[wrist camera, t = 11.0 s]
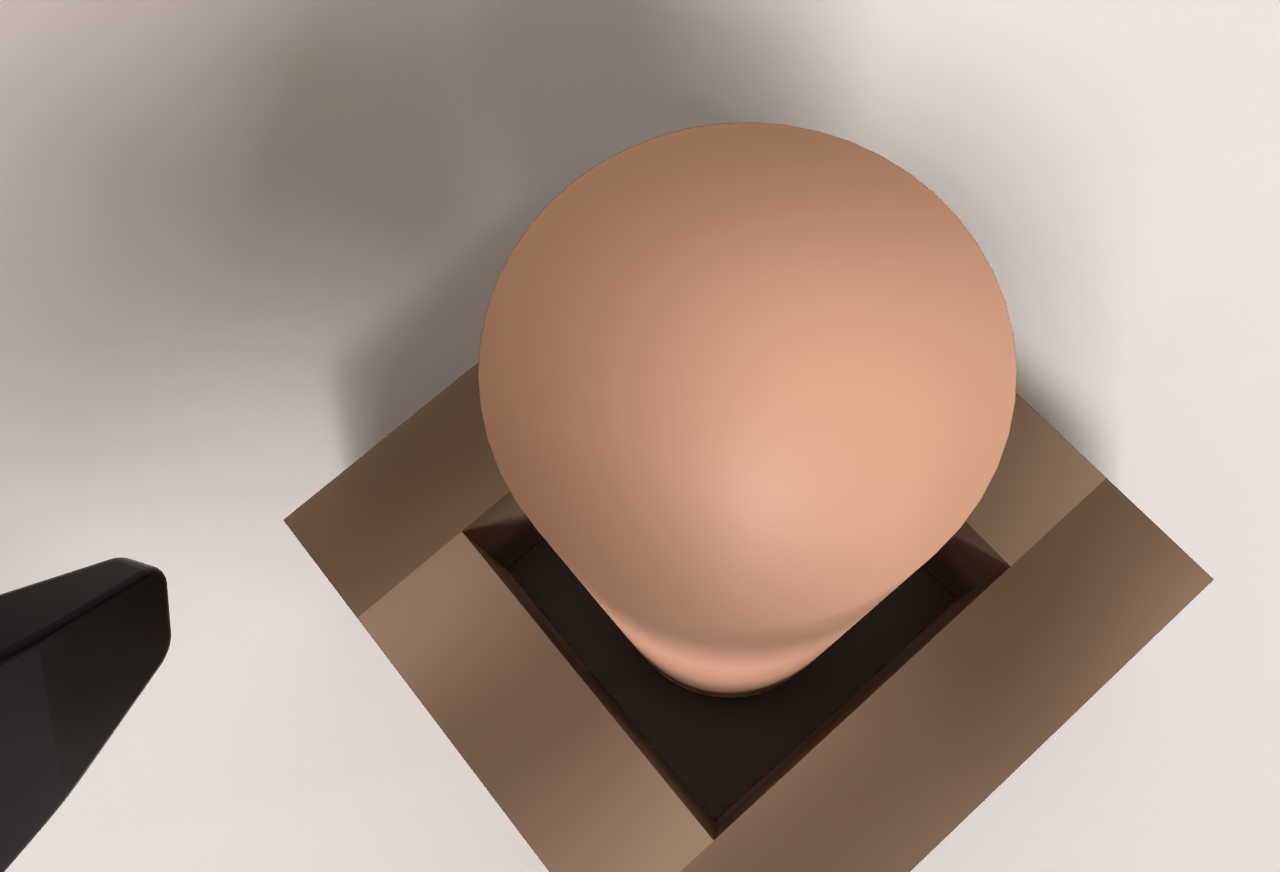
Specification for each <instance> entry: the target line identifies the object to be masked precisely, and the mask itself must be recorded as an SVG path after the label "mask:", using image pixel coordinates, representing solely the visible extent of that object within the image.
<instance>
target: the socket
mask: <svg viewBox="0 0 1280 872" xmlns="http://www.w3.org/2000/svg"><path fill="white" fill-rule="evenodd" d="M478 372H479V363H477V364H476V365H475V366H474V367H472V368H471V369H470V370H469V371H467V372H466V373H465V374H464V375H463V376H461V377H460V378H459V379H458V380H456V381H455V382H454V383H453V384H451V385H450V386H449V387H448V388H446V389H445V390H444V391H443V392H441V393H440V394H439V395H438V396H436V397H435V398H434V399H433V400H432V401H430V402H429V403H428V404H427V405H425V406H424V407H423V408H422V409H420V410H419V411H418V412H417V413H415V414H414V415H413V416H412V417H410V418H409V419H408V420H407V421H405V422H404V423H403V424H402V425H401V426H399V427H398V428H397V429H396V430H394V431H393V432H392V433H391V434H389V435H388V436H387V437H386V438H384V439H383V440H382V441H381V442H379V443H378V444H377V445H376V446H374V447H373V448H372V449H371V450H370V451H368V452H367V453H366V454H365V455H363V456H362V457H361V458H360V459H358V460H357V461H356V462H355V463H353V464H352V465H351V466H350V467H348V468H347V469H346V470H345V471H343V472H342V473H341V474H340V475H339V476H337V477H336V478H335V479H334V480H332V481H331V482H330V483H329V484H327V485H326V486H325V487H324V488H322V489H321V490H320V491H319V492H317V493H316V494H315V495H314V496H312V497H311V498H310V499H309V500H308V501H306V502H305V503H304V504H303V505H301V506H300V507H299V508H298V509H296V510H295V511H294V512H293V513H291V514H290V515H289V516H288V517H286V518H285V519H284V522H285V523H286V524H287V525H288V527H289V528H290V529H291V531H292V532H293V533H294V535H295V536H296V537H297V539H298V540H299V541H300V543H301V544H302V545H303V547H304V548H305V549H306V551H307V552H308V553H309V555H310V556H311V557H312V559H313V560H314V561H315V563H316V564H317V565H318V566H319V568H320V569H321V570H322V572H323V573H324V574H325V576H326V577H327V578H328V580H329V581H330V582H331V584H332V585H333V586H334V588H335V589H336V590H337V592H338V593H339V594H340V596H341V597H342V598H343V600H344V601H345V602H346V603H347V605H348V606H349V607H350V609H351V610H352V611H353V613H354V614H355V615H356V617H357V618H358V619H359V621H360V622H361V623H362V625H363V626H364V627H365V629H366V630H367V631H368V633H369V634H370V635H371V637H372V638H373V639H374V641H375V642H376V643H377V644H378V646H379V647H380V648H381V650H382V651H383V652H384V654H385V655H386V656H387V658H388V659H389V660H390V662H391V663H392V664H393V666H394V667H395V668H396V670H397V671H398V672H399V674H400V675H401V676H402V678H403V679H404V680H405V682H406V683H407V684H408V685H409V687H410V688H411V689H412V691H413V692H414V693H415V695H416V696H417V697H418V699H419V700H420V701H421V703H422V704H423V705H424V707H425V708H426V709H427V711H428V712H429V713H430V715H431V716H432V717H433V719H434V720H435V721H436V722H437V724H438V725H439V726H440V728H441V729H442V730H443V732H444V733H445V734H446V736H447V737H448V738H449V740H450V741H451V742H452V744H453V745H454V746H455V748H456V749H457V750H458V752H459V753H460V754H461V756H462V757H463V758H464V760H465V761H466V762H467V763H468V765H469V766H470V767H471V769H472V770H473V771H474V773H475V774H476V775H477V777H478V778H479V779H480V781H481V782H482V783H483V785H484V786H485V787H486V789H487V790H488V791H489V793H490V794H491V795H492V797H493V798H494V799H495V800H496V802H497V803H498V804H499V806H500V807H501V808H502V810H503V811H504V812H505V814H506V815H507V816H508V818H509V819H510V820H511V822H512V823H513V824H514V826H515V827H516V828H517V830H518V831H519V832H520V834H521V835H522V836H523V838H524V839H525V840H526V841H527V843H528V844H529V845H530V847H531V848H532V849H533V851H534V852H535V853H536V855H537V856H538V857H539V859H540V860H541V861H542V863H543V864H544V865H545V867H546V868H547V869H548V871H549V872H910V871H911V870H912V869H913V868H914V867H915V866H916V865H917V864H918V863H919V862H921V861H922V860H923V859H924V858H925V857H926V856H927V855H928V854H929V853H930V852H931V851H932V850H933V849H934V848H935V847H936V846H937V845H938V844H939V843H940V842H941V841H942V840H943V839H944V838H945V837H947V836H948V835H949V834H950V833H951V832H952V831H953V830H954V829H955V828H956V827H957V826H958V825H959V824H960V823H961V822H962V821H963V820H964V819H965V818H966V817H967V816H968V815H969V814H970V813H971V812H972V811H974V810H975V809H976V808H977V807H978V806H979V805H980V804H981V803H982V802H983V801H984V800H985V799H986V798H987V797H988V796H989V795H990V794H991V793H992V792H993V791H994V790H995V789H996V788H997V787H998V786H1000V785H1001V784H1002V783H1003V782H1004V781H1005V780H1006V779H1007V778H1008V777H1009V776H1010V775H1011V774H1012V773H1013V772H1014V771H1015V770H1016V769H1017V768H1018V767H1019V766H1020V765H1021V764H1022V763H1023V762H1024V761H1025V760H1027V759H1028V758H1029V757H1030V756H1031V755H1032V754H1033V753H1034V752H1035V751H1036V750H1037V749H1038V748H1039V747H1040V746H1041V745H1042V744H1043V743H1044V742H1045V741H1046V740H1047V739H1048V738H1049V737H1050V736H1051V735H1053V734H1054V733H1055V732H1056V731H1057V730H1058V729H1059V728H1060V727H1061V726H1062V725H1063V724H1064V723H1065V722H1066V721H1067V720H1068V719H1069V718H1070V717H1071V716H1072V715H1073V714H1074V713H1075V712H1076V711H1077V710H1078V709H1080V708H1081V707H1082V706H1083V705H1084V704H1085V703H1086V702H1087V701H1088V700H1089V699H1090V698H1091V697H1092V696H1093V695H1094V694H1095V693H1096V692H1097V691H1098V690H1099V689H1100V688H1101V687H1102V686H1103V685H1104V684H1106V683H1107V682H1108V681H1109V680H1110V679H1111V678H1112V677H1113V676H1114V675H1115V674H1116V673H1117V672H1118V671H1119V670H1120V669H1121V668H1122V667H1123V666H1124V665H1125V664H1126V663H1127V662H1128V661H1129V660H1130V659H1132V658H1133V657H1134V656H1135V655H1136V654H1137V653H1138V652H1139V651H1140V650H1141V649H1142V648H1143V647H1144V646H1145V645H1146V644H1147V643H1148V642H1149V641H1150V640H1151V639H1152V638H1153V637H1154V636H1155V635H1156V634H1157V633H1159V632H1160V631H1161V630H1162V629H1163V628H1164V627H1165V626H1166V625H1167V624H1168V623H1169V622H1170V621H1171V620H1172V619H1173V618H1174V617H1175V616H1176V615H1177V614H1178V613H1179V612H1180V611H1181V610H1182V609H1183V608H1185V607H1186V606H1187V605H1188V604H1189V603H1190V602H1191V601H1192V600H1193V599H1194V598H1195V597H1196V596H1197V595H1198V594H1199V593H1200V592H1201V591H1202V590H1203V589H1204V588H1205V587H1206V586H1207V585H1208V584H1209V583H1210V582H1212V581H1213V580H1214V579H1213V578H1212V577H1211V576H1210V575H1208V574H1207V573H1206V572H1205V571H1204V570H1203V569H1202V568H1201V567H1200V566H1199V565H1198V564H1197V563H1196V562H1195V561H1194V560H1193V559H1192V558H1190V557H1189V556H1188V555H1187V554H1186V553H1185V552H1184V551H1183V550H1182V549H1181V548H1180V547H1179V546H1178V545H1177V544H1176V543H1175V542H1174V541H1172V540H1171V539H1170V538H1169V537H1168V536H1167V535H1166V534H1165V533H1164V532H1163V531H1162V530H1161V529H1160V528H1159V527H1158V526H1157V525H1156V524H1154V523H1153V522H1152V521H1151V520H1150V519H1149V518H1148V517H1147V516H1146V515H1145V514H1144V513H1143V512H1142V511H1141V510H1140V509H1139V508H1138V507H1136V506H1135V505H1134V504H1133V503H1132V502H1131V501H1130V500H1129V499H1128V498H1127V497H1126V496H1125V495H1124V494H1123V493H1122V492H1121V491H1120V490H1118V489H1117V488H1116V487H1115V486H1114V485H1113V484H1112V483H1111V482H1110V481H1109V480H1108V479H1107V478H1106V477H1105V476H1104V475H1103V474H1102V473H1100V472H1099V471H1098V470H1097V469H1096V468H1095V467H1094V466H1093V465H1092V464H1091V463H1090V462H1089V461H1088V460H1087V459H1086V458H1085V457H1084V456H1082V455H1081V454H1080V453H1079V452H1078V451H1077V450H1076V449H1075V448H1074V447H1073V446H1072V445H1071V444H1070V443H1069V442H1068V441H1067V440H1066V439H1064V438H1063V437H1062V436H1061V435H1060V434H1059V433H1058V432H1057V431H1056V430H1055V429H1054V428H1053V427H1052V426H1051V425H1050V424H1049V423H1048V422H1046V421H1045V420H1044V419H1043V418H1042V417H1041V416H1040V415H1039V414H1038V413H1037V412H1036V411H1035V410H1034V409H1033V408H1032V407H1031V406H1030V405H1029V404H1027V403H1026V402H1025V401H1024V400H1023V399H1022V398H1021V397H1020V396H1019V395H1018V394H1017V393H1016V394H1015V405H1014V410H1013V415H1012V421H1011V426H1010V431H1009V436H1008V439H1007V441H1006V444H1005V447H1004V450H1003V453H1002V456H1001V459H1000V462H999V464H998V467H997V469H996V471H995V473H994V475H993V477H992V479H991V481H990V483H989V485H988V487H987V489H986V491H985V493H984V494H983V496H982V498H981V500H980V501H979V503H978V504H977V505H976V507H975V508H974V510H973V511H972V512H971V514H970V515H969V517H968V518H967V519H966V521H965V522H964V524H963V525H962V526H961V528H960V529H959V530H958V531H957V532H956V533H955V534H954V535H953V536H952V537H951V538H950V539H949V540H948V541H947V542H946V543H945V544H944V546H943V547H942V548H941V549H940V550H939V551H938V552H937V553H936V554H935V555H934V556H932V557H931V558H930V559H929V560H928V561H927V562H926V563H924V564H923V565H924V566H925V567H926V568H927V570H928V571H929V572H930V573H931V574H932V575H933V576H934V577H935V578H936V579H937V580H938V581H939V582H940V583H941V584H942V585H943V586H944V587H945V588H946V589H947V590H948V591H949V592H950V593H951V594H952V595H953V597H954V598H955V599H956V600H955V601H954V602H953V603H952V604H951V605H950V606H948V607H947V608H946V609H945V610H944V611H943V612H942V613H941V614H940V615H939V616H938V617H937V618H935V619H934V620H933V621H932V622H931V623H930V624H929V625H928V626H927V627H926V628H925V629H923V630H922V631H921V632H920V633H919V634H918V635H917V636H916V637H915V638H914V639H913V640H912V641H910V642H909V643H908V644H907V645H906V646H905V647H904V648H903V649H902V650H901V651H900V652H898V653H897V654H896V655H895V656H894V657H893V658H892V659H891V660H890V661H889V662H888V663H887V664H885V665H884V666H883V667H882V668H881V669H880V670H879V671H878V672H877V673H876V674H875V675H874V676H872V677H871V678H870V679H869V680H868V681H867V682H866V683H865V684H864V685H863V686H862V687H860V688H859V689H858V690H857V691H856V692H855V693H854V694H853V695H852V696H851V697H850V698H849V699H847V700H846V701H845V702H844V703H843V704H842V705H841V706H840V707H839V708H838V709H837V710H835V711H834V712H833V713H832V714H831V715H830V716H829V717H828V718H827V719H826V720H825V721H824V722H822V723H821V724H820V725H819V726H818V727H817V728H816V729H815V730H814V731H813V732H812V733H810V734H809V735H808V736H807V737H806V738H805V739H804V740H803V741H802V742H801V743H800V744H799V745H797V746H796V747H795V748H794V749H793V750H792V751H791V752H790V753H789V754H788V755H787V756H786V757H784V758H783V759H782V760H781V761H780V762H779V763H778V764H777V765H776V766H775V767H774V768H772V769H771V770H770V771H769V772H768V773H767V774H766V775H765V776H764V777H763V778H762V779H761V780H759V781H758V782H757V783H756V784H755V785H754V786H753V787H752V788H751V789H750V790H749V791H747V792H746V793H745V794H744V795H743V796H742V797H741V798H740V799H739V800H738V801H737V802H736V803H734V804H733V805H732V806H731V807H730V808H729V809H728V810H727V811H726V812H725V813H724V814H722V815H721V816H720V817H719V818H718V819H717V820H716V821H715V822H714V821H713V820H712V819H711V817H710V816H709V815H708V814H707V812H706V811H705V810H704V809H703V808H702V806H701V805H700V804H699V803H698V802H697V800H696V799H695V798H694V797H693V795H692V794H691V793H690V792H689V791H688V789H687V788H686V787H685V786H684V784H683V783H682V782H681V781H680V780H679V778H678V777H677V776H676V775H675V773H674V772H673V771H672V770H671V769H670V767H669V766H668V765H667V764H666V762H665V761H664V760H663V759H662V758H661V756H660V755H659V754H658V753H657V752H656V750H655V749H654V748H653V747H652V745H651V744H650V743H649V742H648V741H647V739H646V738H645V737H644V736H643V734H642V733H641V732H640V731H639V730H638V728H637V727H636V726H635V725H634V723H633V722H632V721H631V720H630V719H629V717H628V716H627V715H626V714H625V713H624V711H623V710H622V709H621V708H620V706H619V705H618V704H617V703H616V702H615V700H614V699H613V698H612V697H611V695H610V694H609V693H608V692H607V691H606V689H605V688H604V687H603V686H602V684H601V683H600V682H599V681H598V680H597V678H596V677H595V676H594V675H593V673H592V672H591V671H590V670H589V669H588V667H587V666H586V665H585V664H584V663H583V661H582V660H581V659H580V658H579V656H578V655H577V654H576V653H575V652H574V650H573V649H572V648H571V647H570V645H569V644H568V643H567V642H566V641H565V639H564V638H563V637H562V636H561V634H560V633H559V632H558V631H557V630H556V628H555V627H554V626H553V625H552V623H551V622H550V621H549V620H548V619H547V617H546V616H545V615H544V614H543V613H542V611H541V610H540V609H539V608H538V606H537V605H536V604H535V603H534V602H533V600H532V599H531V598H530V597H529V595H528V594H527V593H526V592H525V591H524V589H523V588H522V587H521V586H520V584H519V583H518V582H517V581H516V580H515V578H514V577H513V576H512V575H511V574H510V572H509V571H508V570H507V569H508V568H509V567H510V566H511V565H513V564H514V563H515V562H516V561H517V560H519V559H520V558H521V557H522V556H523V555H524V554H526V553H527V552H528V551H529V550H530V549H532V548H533V547H534V546H535V545H536V544H537V543H539V542H540V541H541V540H542V539H543V536H542V535H541V534H540V533H539V532H538V530H537V529H536V528H535V527H534V525H533V524H532V522H531V521H530V520H529V518H528V517H527V516H526V514H525V513H524V512H523V510H522V509H521V507H520V506H519V505H518V503H517V502H516V501H515V499H514V497H513V495H512V493H511V491H510V489H509V488H508V486H507V484H506V482H505V480H504V478H503V476H502V475H501V473H500V471H499V468H498V465H497V463H496V460H495V457H494V455H493V452H492V449H491V447H490V444H489V441H488V438H487V433H486V429H485V424H484V420H483V415H482V410H481V403H480V390H479V377H478Z"/></svg>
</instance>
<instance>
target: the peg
mask: <svg viewBox="0 0 1280 872" xmlns="http://www.w3.org/2000/svg"><path fill="white" fill-rule="evenodd" d="M1016 371H1017V366H1016V356H1015V346H1014V336H1013V331H1012V327H1011V323H1010V319H1009V315H1008V311H1007V306H1006V302H1005V300H1004V297H1003V295H1002V292H1001V290H1000V287H999V285H998V282H997V280H996V277H995V275H994V272H993V270H992V268H991V267H990V265H989V263H988V261H987V260H986V258H985V256H984V254H983V252H982V251H981V249H980V247H979V245H978V244H977V242H976V241H975V239H974V238H973V237H972V235H971V234H970V233H969V231H968V230H967V229H966V228H965V226H964V225H963V224H962V222H961V221H960V220H959V218H958V217H957V216H956V215H955V214H954V213H953V212H952V211H951V210H950V209H949V208H948V207H947V206H946V205H945V204H944V203H943V201H942V200H941V199H940V198H939V197H938V196H937V195H936V194H935V193H934V192H932V191H931V190H930V189H929V188H927V187H926V186H925V185H923V184H922V183H921V182H920V181H918V180H917V179H916V178H915V177H913V176H912V175H911V174H910V173H908V172H907V171H905V170H903V169H902V168H900V167H899V166H897V165H895V164H894V163H892V162H890V161H889V160H887V159H885V158H884V157H882V156H881V155H878V154H876V153H874V152H872V151H870V150H867V149H865V148H863V147H861V146H859V145H857V144H854V143H852V142H850V141H847V140H844V139H840V138H837V137H834V136H831V135H828V134H825V133H822V132H818V131H813V130H808V129H803V128H798V127H793V126H788V125H778V124H766V123H722V124H715V125H708V126H701V127H694V128H688V129H685V130H681V131H677V132H673V133H669V134H666V135H662V136H658V137H656V138H653V139H650V140H648V141H645V142H643V143H640V144H638V145H635V146H633V147H630V148H628V149H626V150H624V151H622V152H620V153H618V154H616V155H614V156H613V157H611V158H609V159H607V160H605V161H603V162H601V163H600V164H598V165H597V166H595V167H594V168H592V169H591V170H589V171H588V172H587V173H585V174H584V175H582V176H581V177H579V178H578V179H577V180H575V181H574V182H573V183H571V184H570V185H569V186H568V187H567V188H566V189H565V190H564V191H562V192H561V193H560V194H559V195H558V196H557V197H556V198H555V199H553V200H552V201H551V202H550V203H549V204H548V205H547V207H546V208H545V209H544V210H543V211H542V212H541V213H540V215H539V216H538V217H537V218H536V219H535V220H534V221H533V223H532V224H531V225H530V226H529V227H528V229H527V230H526V232H525V233H524V235H523V236H522V238H521V239H520V241H519V242H518V244H517V245H516V246H515V248H514V249H513V251H512V252H511V254H510V256H509V258H508V260H507V262H506V264H505V266H504V268H503V270H502V272H501V274H500V276H499V278H498V280H497V283H496V285H495V288H494V291H493V294H492V297H491V300H490V303H489V306H488V309H487V312H486V317H485V322H484V327H483V332H482V337H481V342H480V355H479V372H478V377H479V390H480V403H481V410H482V415H483V420H484V424H485V429H486V433H487V438H488V441H489V444H490V447H491V449H492V452H493V455H494V457H495V460H496V463H497V465H498V468H499V471H500V473H501V475H502V476H503V478H504V480H505V482H506V484H507V486H508V488H509V489H510V491H511V493H512V495H513V497H514V499H515V501H516V502H517V503H518V505H519V506H520V507H521V509H522V510H523V512H524V513H525V514H526V516H527V517H528V518H529V520H530V521H531V522H532V524H533V525H534V527H535V528H536V529H537V530H538V532H539V533H540V534H541V535H542V536H543V538H544V539H545V540H546V541H547V542H548V544H549V545H550V546H551V547H552V548H553V550H554V551H555V552H556V553H557V554H558V556H559V557H560V558H561V559H562V560H563V561H564V563H565V564H566V565H567V566H568V567H569V569H570V570H571V571H572V572H573V573H574V575H575V576H576V577H577V578H578V579H579V581H580V582H581V583H582V584H583V585H584V587H585V588H586V589H587V590H588V591H589V593H590V594H591V595H592V596H593V597H594V599H595V600H596V601H597V602H598V603H599V605H600V606H601V607H602V608H603V609H604V610H605V612H606V613H607V614H608V615H609V616H610V618H611V619H612V620H613V621H614V622H615V624H616V625H617V626H618V627H619V628H620V630H621V631H622V632H623V633H624V634H625V636H626V637H627V638H628V639H629V640H630V642H631V643H632V644H633V645H634V646H635V648H636V649H637V650H638V651H639V652H640V654H641V655H642V656H643V657H644V658H645V659H646V660H647V661H648V662H649V663H650V665H651V666H652V667H653V668H654V669H656V670H657V671H658V672H659V673H661V674H662V675H663V676H664V677H666V678H667V679H669V680H670V681H672V682H674V683H675V684H677V685H679V686H681V687H683V688H686V689H688V690H690V691H693V692H696V693H700V694H703V695H707V696H714V697H721V698H738V697H746V696H752V695H756V694H760V693H764V692H767V691H769V690H771V689H774V688H776V687H778V686H780V685H782V684H784V683H785V682H787V681H789V680H790V679H792V678H793V677H794V676H796V675H797V674H798V673H800V672H801V671H802V670H803V669H804V668H806V667H807V666H808V665H809V664H810V663H811V662H812V661H814V660H815V659H816V658H817V657H818V656H819V655H820V654H822V653H823V652H824V651H825V650H826V649H827V648H828V647H830V646H831V645H832V644H833V643H834V642H835V641H836V640H838V639H839V638H840V637H841V636H842V635H843V634H844V633H846V632H847V631H848V630H849V629H850V628H851V627H852V626H854V625H855V624H856V623H857V622H858V621H859V620H860V619H862V618H863V617H864V616H865V615H866V614H867V613H868V612H870V611H871V610H872V609H873V608H874V607H875V606H876V605H878V604H879V603H880V602H881V601H882V600H883V599H884V598H886V597H887V596H888V595H889V594H890V593H891V592H892V591H894V590H895V589H896V588H897V587H898V586H899V585H900V584H902V583H903V582H904V581H905V580H906V579H907V578H908V577H910V576H911V575H912V574H913V573H914V572H915V571H916V570H918V569H919V568H920V567H921V566H922V565H923V564H924V563H926V562H927V561H928V560H929V559H930V558H931V557H932V556H934V555H935V554H936V553H937V552H938V551H939V550H940V549H941V548H942V547H943V546H944V544H945V543H946V542H947V541H948V540H949V539H950V538H951V537H952V536H953V535H954V534H955V533H956V532H957V531H958V530H959V529H960V528H961V526H962V525H963V524H964V522H965V521H966V519H967V518H968V517H969V515H970V514H971V512H972V511H973V510H974V508H975V507H976V505H977V504H978V503H979V501H980V500H981V498H982V496H983V494H984V493H985V491H986V489H987V487H988V485H989V483H990V481H991V479H992V477H993V475H994V473H995V471H996V469H997V467H998V464H999V462H1000V459H1001V456H1002V453H1003V450H1004V447H1005V444H1006V441H1007V439H1008V436H1009V431H1010V426H1011V421H1012V415H1013V410H1014V405H1015V394H1016Z"/></svg>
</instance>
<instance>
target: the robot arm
mask: <svg viewBox="0 0 1280 872" xmlns="http://www.w3.org/2000/svg"><path fill="white" fill-rule="evenodd" d="M170 640H171V628H170V616H169V603H168V591H167V581H166V577H165V576H164V574H163V572H162V571H161V570H159V569H158V568H156V567H153V566H150V565H147V564H144V563H141V562H138V561H135V560H132V559H128V558H114V559H110V560H107V561H104V562H100V563H97V564H94V565H91V566H88V567H85V568H82V569H79V570H76V571H72V572H69V573H66V574H63V575H60V576H57V577H54V578H51V579H48V580H44V581H41V582H38V583H35V584H32V585H29V586H26V587H23V588H20V589H16V590H13V591H10V592H7V593H4V594H1V595H0V872H4V871H5V870H6V869H7V868H8V867H9V866H10V864H11V863H12V862H13V861H14V860H15V859H16V857H17V856H18V855H19V854H20V853H21V852H22V850H23V849H24V848H25V847H26V846H27V845H28V843H29V842H30V841H31V840H32V839H33V838H34V836H35V835H36V834H37V833H38V832H39V831H40V829H41V828H42V827H43V826H44V825H45V824H46V822H47V821H48V820H49V819H50V818H51V816H52V815H53V814H54V813H55V811H56V810H57V809H58V808H59V807H60V805H61V804H62V803H63V802H64V801H65V799H66V798H67V797H68V795H69V794H70V793H71V791H72V790H73V789H74V787H75V786H76V785H77V783H78V782H79V780H80V779H81V778H82V776H83V775H84V774H85V772H86V771H87V769H88V768H89V766H90V765H91V764H92V762H93V761H94V759H95V758H96V756H97V755H98V754H99V752H100V751H101V749H102V748H103V746H104V745H105V744H106V742H107V741H108V739H109V738H110V736H111V735H112V734H113V732H114V731H115V729H116V728H117V727H118V725H119V724H120V722H121V721H122V719H123V718H124V717H125V715H126V714H127V712H128V711H129V709H130V708H131V707H132V705H133V704H134V702H135V701H136V699H137V698H138V697H139V695H140V694H141V692H142V691H143V689H144V688H145V687H146V685H147V684H148V682H149V681H150V679H151V678H152V677H153V675H154V674H155V672H156V671H157V670H158V668H159V667H160V665H161V664H162V662H163V660H164V658H165V656H166V654H167V652H168V649H169V646H170Z"/></svg>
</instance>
